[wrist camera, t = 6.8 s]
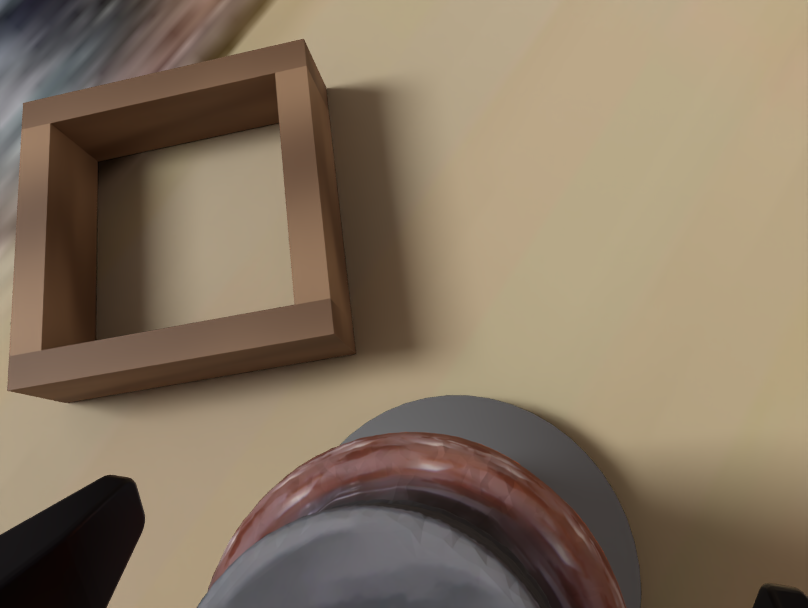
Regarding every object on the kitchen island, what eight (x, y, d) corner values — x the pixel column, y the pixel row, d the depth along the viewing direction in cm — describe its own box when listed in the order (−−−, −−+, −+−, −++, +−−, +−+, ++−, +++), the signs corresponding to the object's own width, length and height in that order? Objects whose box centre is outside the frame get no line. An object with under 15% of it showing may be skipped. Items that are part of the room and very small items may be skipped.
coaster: (713, 597, 16) (723, 602, 15) (440, 850, 16) (436, 868, 15) (474, 336, 19) (472, 329, 18) (236, 541, 18) (224, 543, 18)
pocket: (356, 353, 19) (333, 333, 17) (65, 402, 21) (7, 390, 18) (325, 87, 22) (303, 38, 20) (72, 142, 23) (23, 103, 21)
